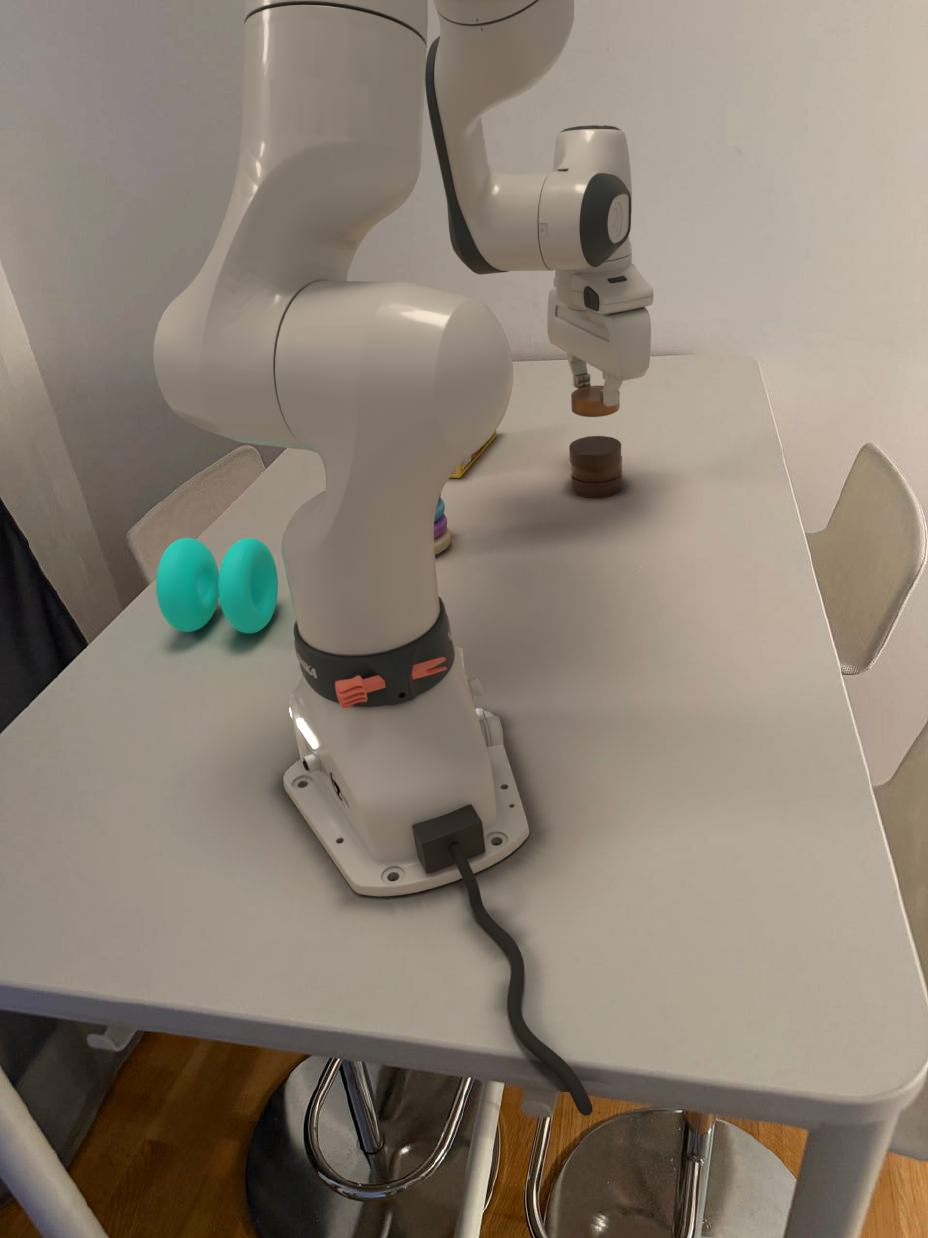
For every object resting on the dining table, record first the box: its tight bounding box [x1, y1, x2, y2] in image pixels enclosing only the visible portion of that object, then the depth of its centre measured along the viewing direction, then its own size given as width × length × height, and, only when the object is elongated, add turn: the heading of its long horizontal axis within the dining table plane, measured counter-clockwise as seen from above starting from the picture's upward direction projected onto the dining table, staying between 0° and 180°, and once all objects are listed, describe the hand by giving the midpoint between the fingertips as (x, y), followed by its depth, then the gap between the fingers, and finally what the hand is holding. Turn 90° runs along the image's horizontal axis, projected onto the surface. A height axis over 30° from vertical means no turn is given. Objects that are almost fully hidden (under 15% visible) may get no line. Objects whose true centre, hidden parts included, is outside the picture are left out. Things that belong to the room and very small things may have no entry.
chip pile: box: [568, 435, 623, 499], centre depth 119 cm, size 7×7×6 cm
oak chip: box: [570, 385, 621, 418], centre depth 115 cm, size 6×6×2 cm
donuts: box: [155, 537, 279, 634], centre depth 97 cm, size 10×10×10 cm
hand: (595, 396), depth 114 cm, fingers closed on oak chip, 6 cm apart
